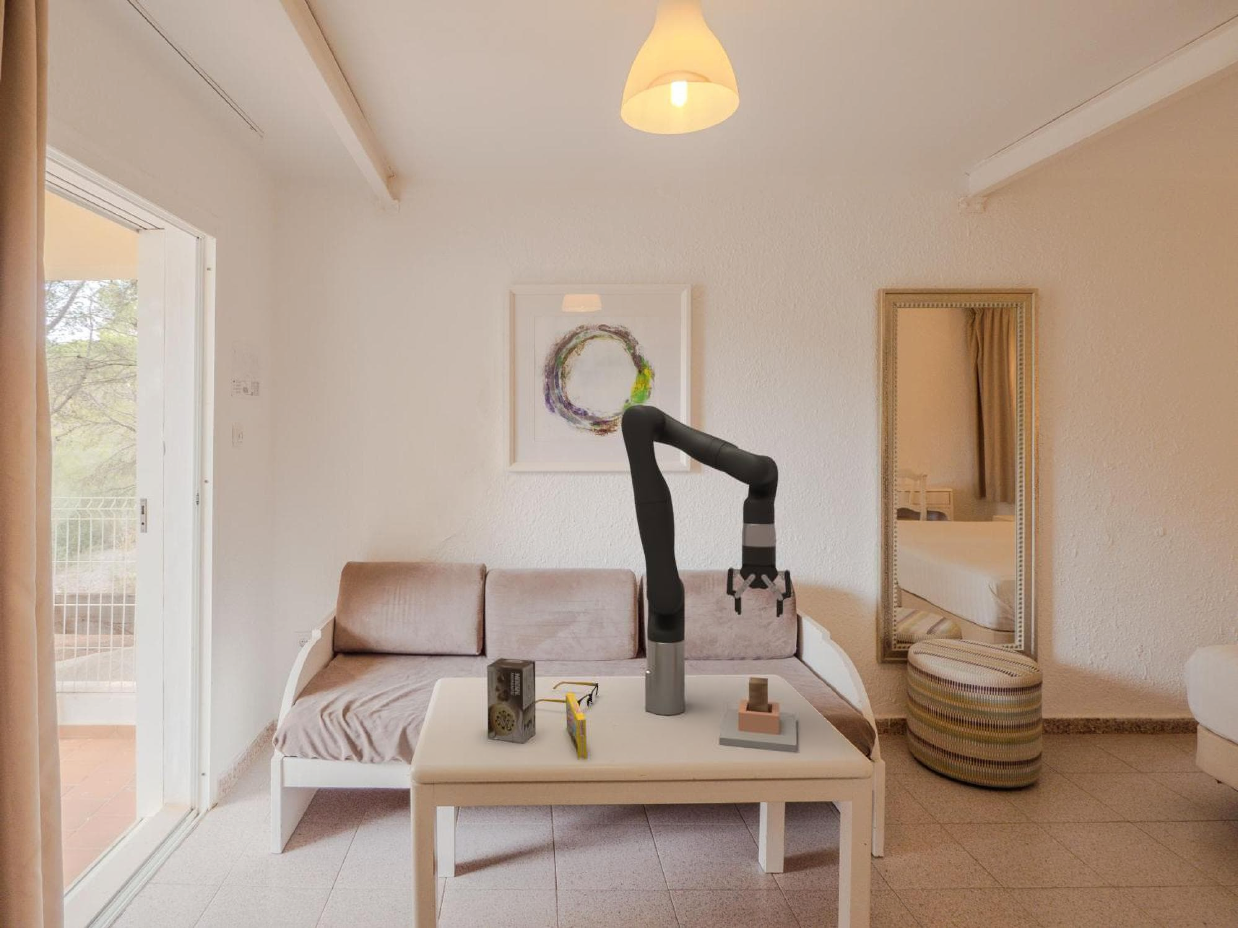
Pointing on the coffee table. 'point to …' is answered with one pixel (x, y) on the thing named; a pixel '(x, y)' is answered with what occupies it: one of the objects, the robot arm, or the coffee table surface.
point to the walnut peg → (758, 694)
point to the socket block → (759, 728)
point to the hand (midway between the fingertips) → (758, 615)
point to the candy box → (576, 725)
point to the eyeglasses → (578, 700)
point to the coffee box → (511, 699)
